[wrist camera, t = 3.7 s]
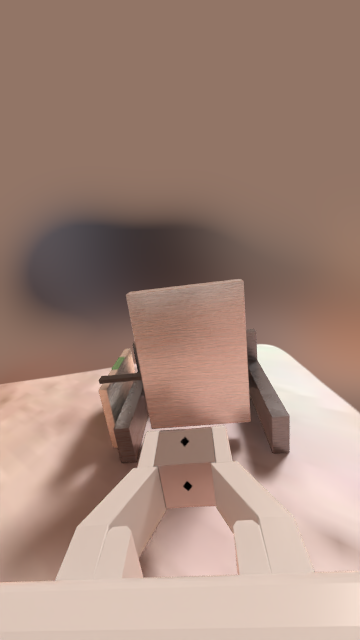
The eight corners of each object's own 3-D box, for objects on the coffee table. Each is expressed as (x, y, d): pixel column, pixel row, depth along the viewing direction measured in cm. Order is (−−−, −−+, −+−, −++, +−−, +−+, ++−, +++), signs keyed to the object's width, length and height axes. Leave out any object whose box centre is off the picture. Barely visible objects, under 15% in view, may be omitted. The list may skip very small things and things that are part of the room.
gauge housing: (104, 463, 24) (85, 393, 22) (132, 393, 35) (122, 342, 33) (289, 452, 23) (289, 375, 20) (256, 382, 34) (254, 328, 32)
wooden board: (110, 432, 25) (77, 300, 21) (114, 422, 27) (84, 297, 23) (250, 421, 24) (243, 281, 20) (247, 411, 26) (239, 278, 22)
